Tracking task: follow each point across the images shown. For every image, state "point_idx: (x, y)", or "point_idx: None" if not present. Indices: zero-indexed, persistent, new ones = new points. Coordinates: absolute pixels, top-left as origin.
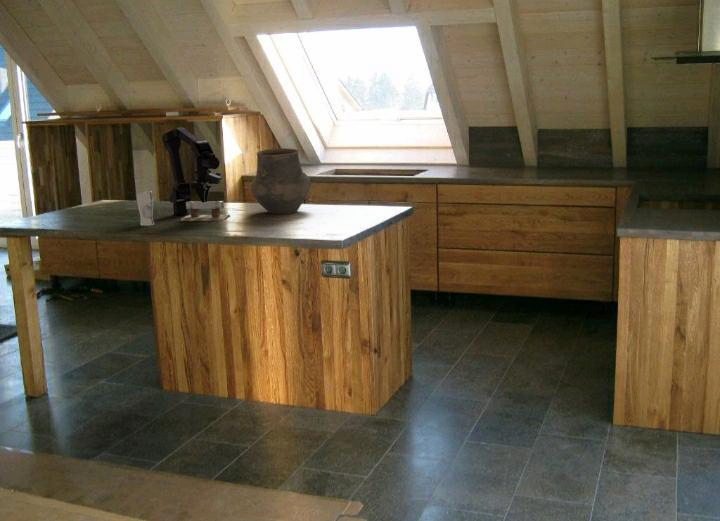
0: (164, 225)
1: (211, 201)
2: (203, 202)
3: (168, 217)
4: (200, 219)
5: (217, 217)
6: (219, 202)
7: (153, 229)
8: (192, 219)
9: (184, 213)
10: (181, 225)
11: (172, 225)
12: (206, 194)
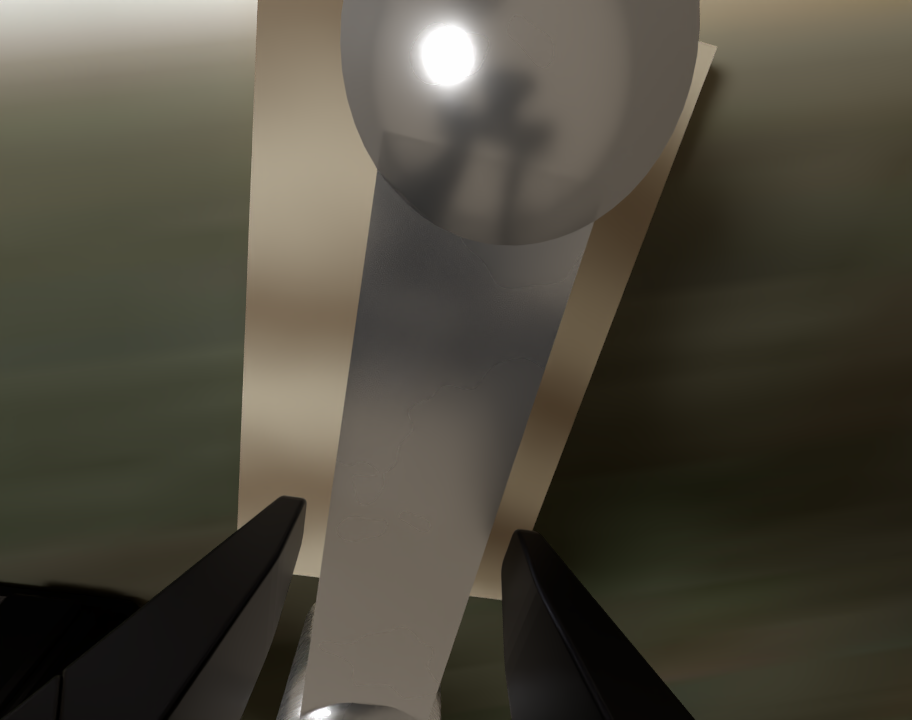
0: (715, 653)
1: (385, 367)
2: (530, 539)
3: (255, 696)
4: (575, 405)
5: None
6: (696, 30)
7: (875, 683)
8: (543, 491)
9: (92, 624)
10: (799, 535)
11: (751, 602)
12: (197, 714)
